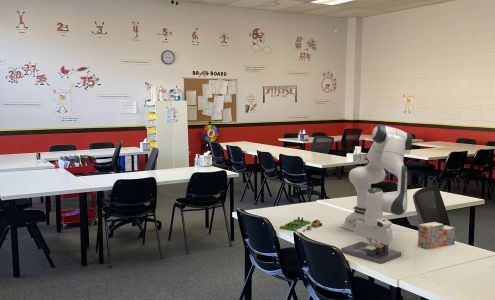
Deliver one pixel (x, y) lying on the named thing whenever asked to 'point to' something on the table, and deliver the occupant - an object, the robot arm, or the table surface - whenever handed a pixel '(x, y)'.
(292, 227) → the toy garden set
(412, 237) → the table surface
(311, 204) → the table surface
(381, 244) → the breaker far
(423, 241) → the stack of blocks
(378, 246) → the breaker
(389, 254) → the panel
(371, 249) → the breaker near
